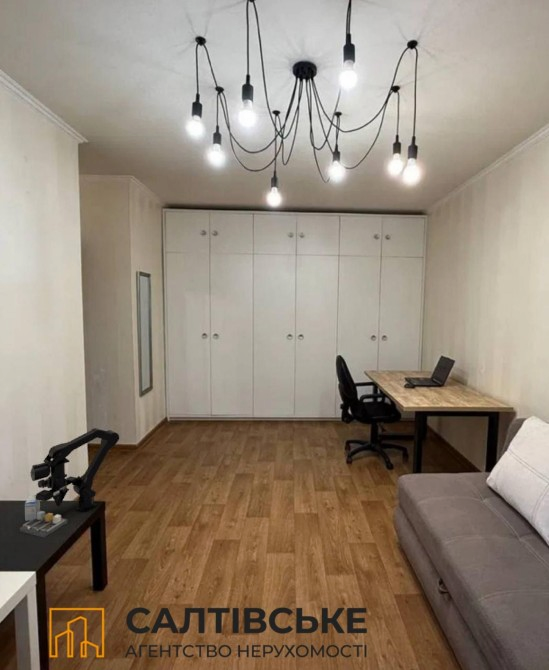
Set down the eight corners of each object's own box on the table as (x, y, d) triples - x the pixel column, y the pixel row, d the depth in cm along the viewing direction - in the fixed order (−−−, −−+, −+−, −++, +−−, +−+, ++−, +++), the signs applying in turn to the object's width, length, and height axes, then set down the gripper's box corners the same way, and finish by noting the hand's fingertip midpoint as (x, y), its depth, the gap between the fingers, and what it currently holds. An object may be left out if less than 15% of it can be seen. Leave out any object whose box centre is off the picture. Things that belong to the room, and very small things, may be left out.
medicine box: (29, 512, 175) (29, 495, 175) (40, 510, 177) (40, 493, 176) (24, 521, 168) (24, 503, 167) (36, 519, 169) (35, 501, 169)
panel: (44, 516, 171) (44, 511, 171) (67, 522, 167) (67, 517, 167) (19, 531, 160) (19, 525, 160) (44, 537, 156) (43, 532, 156)
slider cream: (57, 519, 166) (57, 513, 166) (62, 520, 166) (61, 514, 165) (52, 523, 163) (52, 517, 163) (56, 524, 163) (56, 518, 163)
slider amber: (50, 517, 168) (49, 512, 168) (54, 518, 167) (53, 513, 167) (44, 521, 165) (44, 515, 165) (48, 522, 164) (48, 516, 164)
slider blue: (42, 515, 169) (42, 510, 169) (46, 516, 168) (46, 511, 168) (36, 519, 166) (36, 513, 166) (40, 520, 166) (40, 514, 165)
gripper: (61, 463, 181) (62, 493, 182) (25, 479, 163) (27, 513, 164) (79, 466, 178) (80, 497, 179) (44, 483, 160) (45, 517, 161)
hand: (58, 505), depth 171 cm, fingers closed
